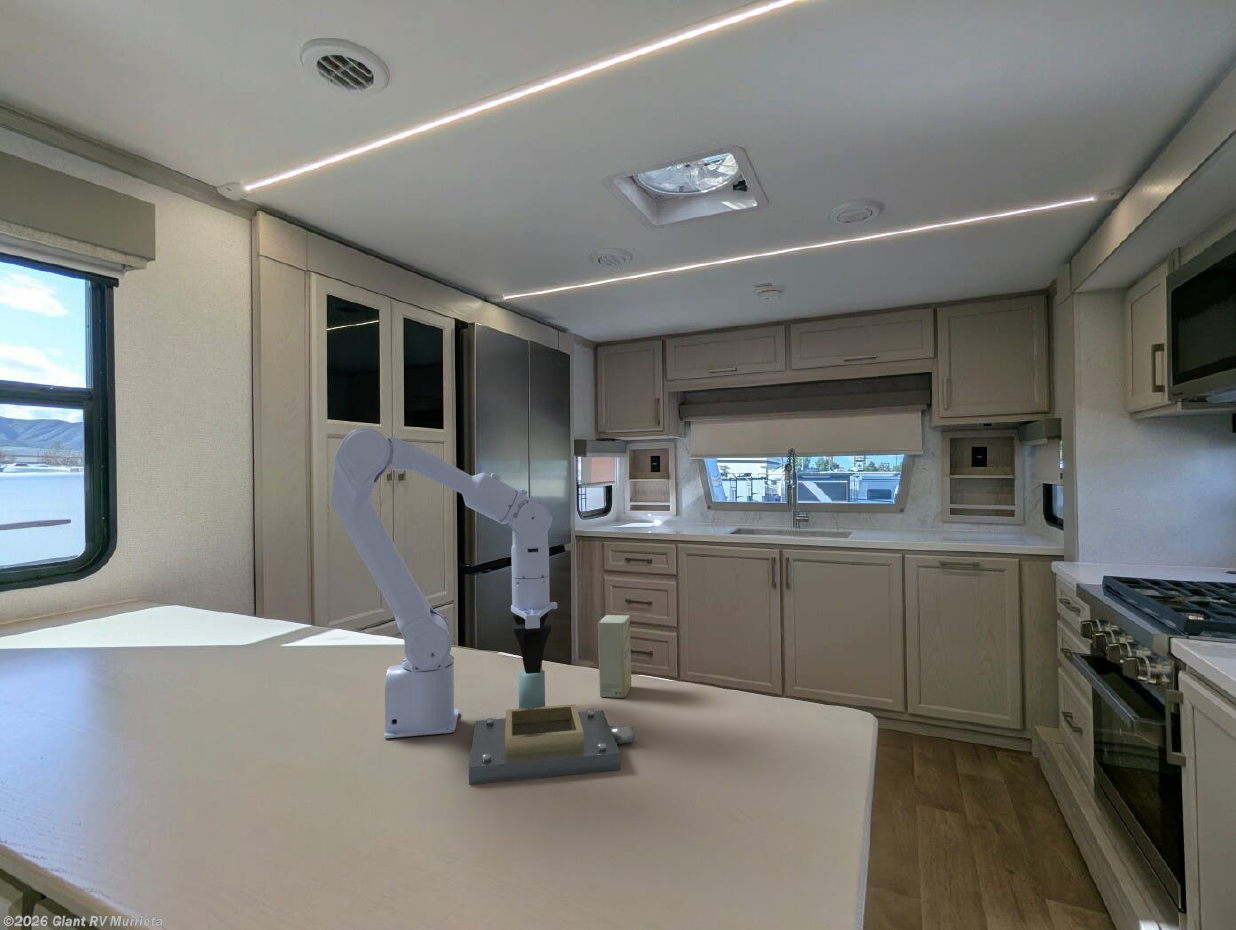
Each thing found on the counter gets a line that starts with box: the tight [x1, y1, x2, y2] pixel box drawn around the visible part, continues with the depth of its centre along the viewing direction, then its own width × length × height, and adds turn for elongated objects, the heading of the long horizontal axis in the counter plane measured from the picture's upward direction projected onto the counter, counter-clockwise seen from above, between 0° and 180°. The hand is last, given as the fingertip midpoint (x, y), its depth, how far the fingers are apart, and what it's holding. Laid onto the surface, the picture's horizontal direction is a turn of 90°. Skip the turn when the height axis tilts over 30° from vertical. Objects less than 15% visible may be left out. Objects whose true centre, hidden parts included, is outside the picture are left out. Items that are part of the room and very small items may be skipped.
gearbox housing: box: [468, 703, 635, 786], centre depth 80 cm, size 21×14×4 cm, turn 100°
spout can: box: [518, 665, 546, 709], centre depth 93 cm, size 4×4×7 cm
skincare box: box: [597, 614, 632, 699], centre depth 101 cm, size 6×4×12 cm
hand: (532, 664), depth 93 cm, fingers open, 7 cm apart
